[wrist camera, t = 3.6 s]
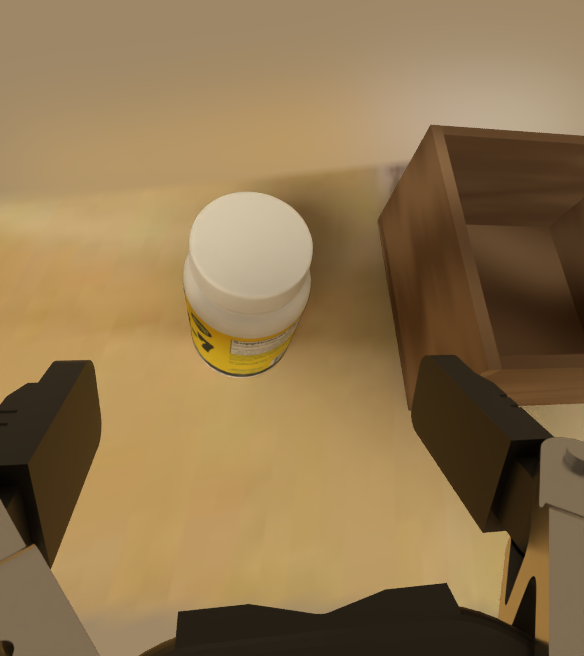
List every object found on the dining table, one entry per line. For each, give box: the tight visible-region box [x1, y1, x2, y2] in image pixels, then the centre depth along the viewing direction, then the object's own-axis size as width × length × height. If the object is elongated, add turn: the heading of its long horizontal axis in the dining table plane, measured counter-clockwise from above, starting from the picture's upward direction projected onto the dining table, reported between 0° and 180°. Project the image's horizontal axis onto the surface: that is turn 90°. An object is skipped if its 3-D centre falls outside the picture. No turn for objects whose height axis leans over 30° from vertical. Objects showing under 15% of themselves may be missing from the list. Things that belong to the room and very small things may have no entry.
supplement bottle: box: [183, 192, 313, 378], centre depth 18 cm, size 5×5×8 cm
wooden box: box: [378, 125, 584, 410], centre depth 21 cm, size 11×11×7 cm
